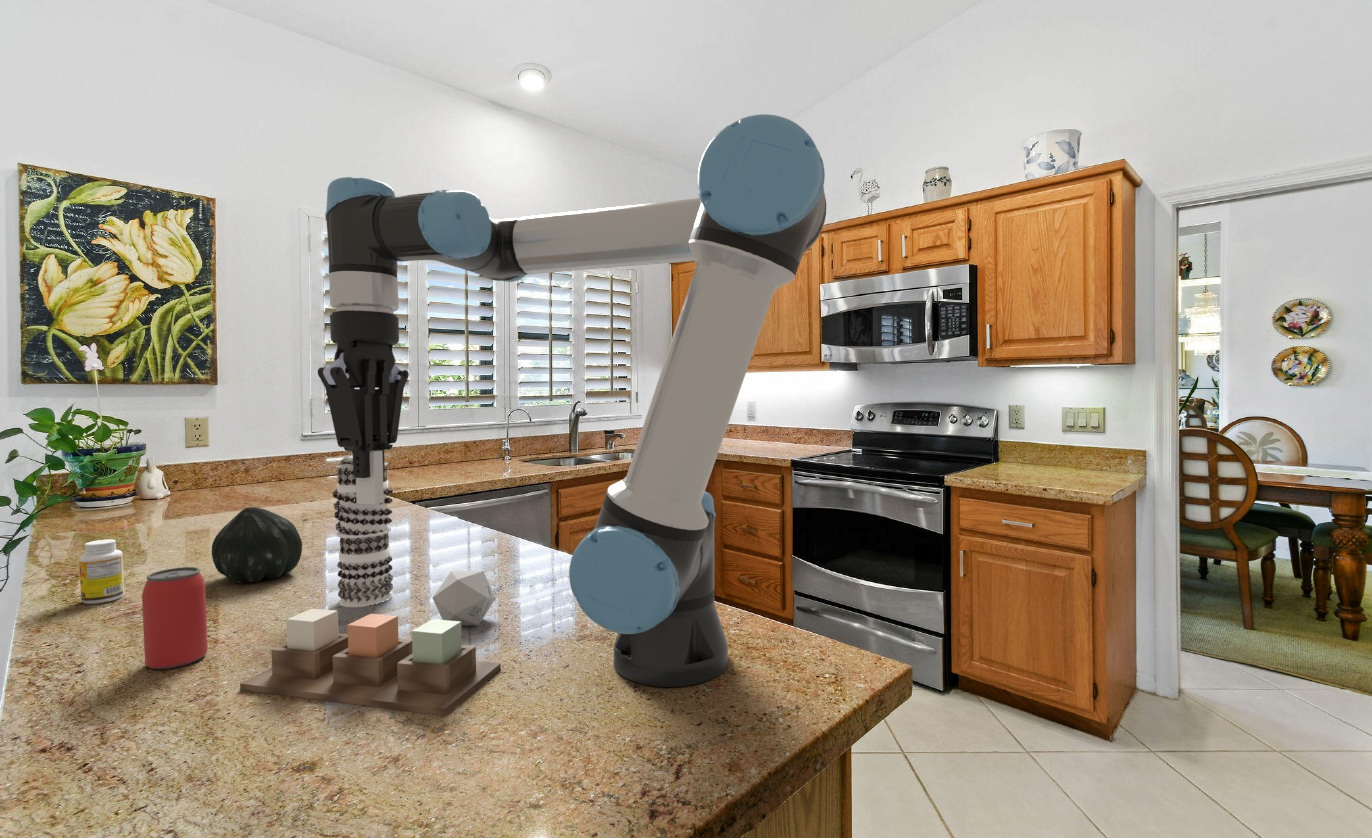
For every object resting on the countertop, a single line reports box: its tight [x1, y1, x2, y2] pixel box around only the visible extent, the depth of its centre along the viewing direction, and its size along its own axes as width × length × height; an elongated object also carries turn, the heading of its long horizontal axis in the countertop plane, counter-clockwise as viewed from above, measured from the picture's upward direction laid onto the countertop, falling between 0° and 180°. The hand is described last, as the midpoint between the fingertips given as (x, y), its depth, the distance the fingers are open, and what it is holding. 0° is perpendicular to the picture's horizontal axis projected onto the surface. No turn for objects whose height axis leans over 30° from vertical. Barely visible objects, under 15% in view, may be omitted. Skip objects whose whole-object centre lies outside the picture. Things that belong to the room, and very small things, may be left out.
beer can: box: [141, 566, 208, 670], centre depth 85 cm, size 7×7×12 cm
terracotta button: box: [347, 613, 400, 658], centre depth 79 cm, size 4×4×4 cm
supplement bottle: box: [78, 538, 125, 605], centre depth 110 cm, size 6×6×10 cm
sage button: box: [411, 618, 463, 665], centre depth 77 cm, size 4×4×4 cm
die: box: [432, 570, 496, 627], centre depth 98 cm, size 8×9×10 cm
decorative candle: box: [332, 455, 394, 609], centre depth 109 cm, size 9×9×25 cm
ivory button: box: [286, 608, 339, 651], centre depth 81 cm, size 4×4×4 cm
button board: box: [239, 632, 502, 717], centre depth 79 cm, size 28×12×4 cm, turn 77°
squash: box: [211, 506, 303, 584], centre depth 123 cm, size 14×15×15 cm
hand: (370, 502), depth 78 cm, fingers closed
